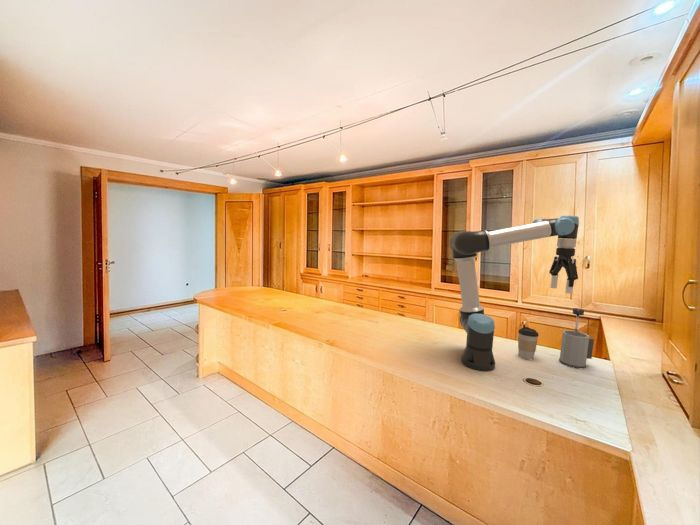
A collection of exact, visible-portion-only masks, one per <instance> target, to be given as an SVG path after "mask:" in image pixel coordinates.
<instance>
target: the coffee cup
mask: <svg viewBox="0 0 700 525" xmlns="http://www.w3.org/2000/svg"><path fill="white" fill-rule="evenodd" d="M517 333H518V338H517V339H518V340H517V343H518V344H517V350H518V357H519V358H521V359H523V358H524V360H528V359H532V360H534V358H535V354H536V351H537V345H538V339H539V338H538V337H539V332H538V331H537V330H536V329H534V328H530V327H529V326H524V327H521V328H520V329H518V332H517Z"/></svg>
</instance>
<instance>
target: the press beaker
mask: <svg viewBox="0 0 700 525" xmlns="http://www.w3.org/2000/svg"><path fill="white" fill-rule="evenodd" d="M574 333H575V330H571V329H570V330H569V329H566V330H562V333H561V334H562V335H561V344H560V353H559V354H560V355H559V358H558V362H559V361H560V362H561V364H562V365H563V366H566V365H567V367H569V366H570V367H569V368H573V367H574V369H579V368H583V369H586V368H587V359H588V360H589V359H590V360H592V357H593V349H594V342H595V338H593V337H590V335H589V334H587V333H585V332H581V331H578V330H577V336H573V335H574ZM560 362H559V363H560Z"/></svg>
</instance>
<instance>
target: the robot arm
mask: <svg viewBox="0 0 700 525" xmlns="http://www.w3.org/2000/svg"><path fill="white" fill-rule="evenodd" d="M579 220H580V218H579V216H578V215H560V217H556V218H535V219H534V220H533V221H532V223H527V224H521V225H517V226H516V225H515V226H512V227H506V228H501V229H496V230H489V231H487V230H486V229H484V230H476V231H467V230H460V231H458V232H455V233H454V234H453V235H451V237H450V240H449V246H450V249H451V251H452V258H453V260H454V261H455V262H456V264H457V265H456V266H457V268H456V269H457V274H458V282H459V289H460V298H461V307H460V308H459V312H460V313H459V314H460V315H459V324H460V326H461V327H462V329H463V330H464V331H465V333H466V341H465V343H466V344H465V348H464V350H463V352H462V354H461V358H460V361H461V364H463V365H464V366H466V367H468V368H470V369H473V370H475V371H476V370H477V371H483V372H486V371H487V372H488V371H489V372H490V371H492V370H494V369H495V368H496V361H495V356H494V353H493V347H494V346H493V345H494V335H495V328H496V327H495V321H494V318H493V317H491V316H489V315H487V314H485V310H484V309H485V308H484V307H483V306H482V305H481V302H480V294H479V287H478V277H477V270H476V262H475V259H476V258H477V257H478V253H482V252H486V251H487V252H488V251H489V250H491V248H495V247H496V248H497V247H501V246H507V245H512V244H518V243H524V242H528V241H534V240H539V239H545V238H551V237H556V236H557V243H556V249H555V250H556V251H555V255H556V256H554V257H553V261H552V264H551V267H550V269H549V272H548V273H549V274H550V275H551V278H550V279H551V280H550V285H549V286H550V287H549V288H550V289H557V288H558V282H559V281H558V279H559V273H560V271H561V270H562V268H563V269H564V270H565V274H566V276H567V278H566V284H565V292H564V293H565V294H574V293H573V292H574V291H573V290H574V284H575V281H576V280H578V279H579V275H578V270H577V259H576V258H573V257H575V255H576V249H575V248H576V247H577V238H578V233H579V232H578V230H579V226H580V224H579V223H580V221H579Z"/></svg>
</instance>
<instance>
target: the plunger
mask: <svg viewBox="0 0 700 525" xmlns="http://www.w3.org/2000/svg"><path fill="white" fill-rule="evenodd" d="M572 314H573V315H576V317H575V318H576V319H575V327H574V331H575V333H574V335H573V336H577V331H578V328H579V319H580V316H584V314H585V309H583V308H579V307H573V308H572Z"/></svg>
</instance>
